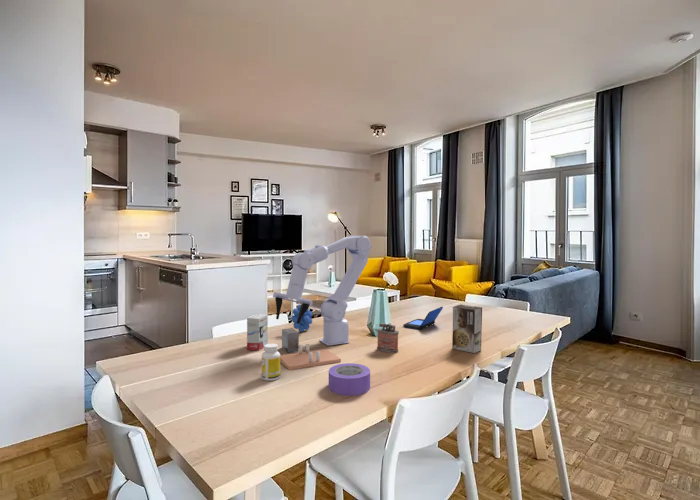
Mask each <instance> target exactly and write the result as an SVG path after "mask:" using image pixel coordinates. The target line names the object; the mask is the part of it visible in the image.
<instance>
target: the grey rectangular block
mask: <svg viewBox="0 0 700 500" xmlns="http://www.w3.org/2000/svg"><path fill="white" fill-rule="evenodd" d="M299 333H300V331H299V332H298V331H297V329H295V328H294V327H290V328H282V329H281V348H282V349H283V350H284V351H285V352H286V353H287V354H293V353H299V345H300V344H299V343H300V341H299V338H300V337H299V336H300V335H299Z"/></svg>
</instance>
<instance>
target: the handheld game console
mask: <svg viewBox="0 0 700 500" xmlns="http://www.w3.org/2000/svg"><path fill="white" fill-rule="evenodd" d="M443 308H444V307H443V306H440V307H437V308H434V309H433V310H430V311H429V312H428V313H427V315H426V316H425V317H424V319H422V318H415V319H413V320H410V321H408V322H406V323H404V324H403V328H406V329H412V330H419V331H422V330H425V329H427V327H426V326H428V327H431V326H433V325H435V324H436V319H437V318H438V317H439V315H440V314H441V312H442V310H443ZM434 323H435V324H434ZM432 324H433V325H432ZM430 325H431V326H430Z"/></svg>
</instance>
